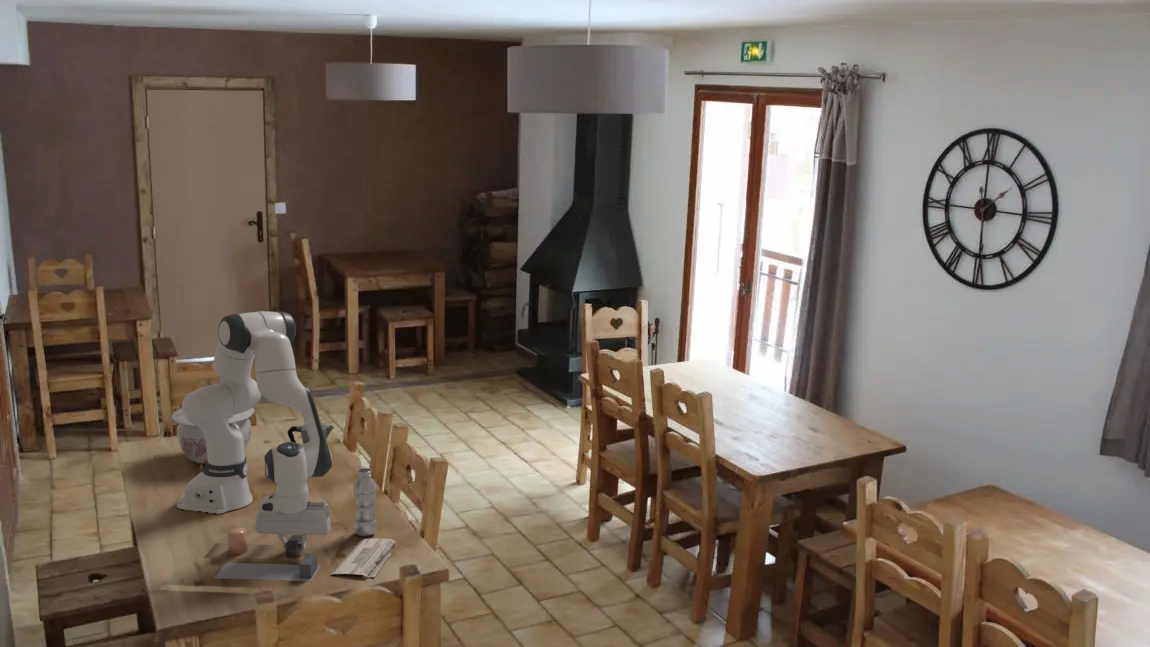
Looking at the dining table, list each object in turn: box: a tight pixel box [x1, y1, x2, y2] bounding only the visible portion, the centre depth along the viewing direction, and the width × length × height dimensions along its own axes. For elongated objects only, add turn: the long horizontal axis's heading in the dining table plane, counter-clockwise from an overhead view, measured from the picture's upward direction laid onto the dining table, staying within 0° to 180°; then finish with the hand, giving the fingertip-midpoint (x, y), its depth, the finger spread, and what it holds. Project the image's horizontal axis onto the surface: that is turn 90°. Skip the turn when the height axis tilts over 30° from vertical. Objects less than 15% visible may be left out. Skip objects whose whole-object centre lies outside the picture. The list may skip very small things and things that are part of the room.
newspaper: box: [330, 538, 396, 580], centre depth 285 cm, size 23×12×2 cm, turn 169°
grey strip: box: [213, 553, 321, 582], centre depth 274 cm, size 26×9×5 cm, turn 88°
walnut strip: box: [203, 534, 307, 562], centre depth 285 cm, size 26×9×5 cm, turn 88°
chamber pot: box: [170, 407, 255, 464], centre depth 355 cm, size 28×28×21 cm
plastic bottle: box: [352, 467, 378, 537], centre depth 298 cm, size 6×7×20 cm
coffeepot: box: [286, 422, 335, 444], centre depth 348 cm, size 15×9×18 cm, turn 102°
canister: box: [226, 527, 248, 555], centre depth 285 cm, size 5×5×6 cm
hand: (294, 547), depth 285 cm, fingers closed on walnut strip, 3 cm apart
